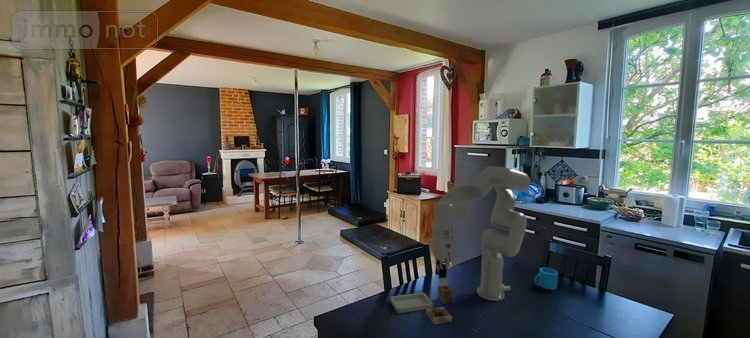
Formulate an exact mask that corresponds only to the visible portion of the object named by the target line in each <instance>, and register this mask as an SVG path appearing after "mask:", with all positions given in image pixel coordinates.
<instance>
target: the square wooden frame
mask: <svg viewBox="0 0 750 338" xmlns="http://www.w3.org/2000/svg"><path fill="white" fill-rule="evenodd" d="M425 314H426V316H427V317H428V318H429V320H430V321H431V322H432V324H433V325H439V324H447V323H452V322H453V316H452V315H451V314H450V313H449V311H447V309H446V308H445V307H444V306H438V307H434V308H430V309H426V310H425ZM436 315H442V316H436Z"/></svg>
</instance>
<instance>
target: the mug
mask: <svg viewBox="0 0 750 338" xmlns="http://www.w3.org/2000/svg"><path fill="white" fill-rule="evenodd" d="M558 275H559V272H558V271H557V270H555V269H554V268H550V267H540V268H539V273H537V274H536V275H535V277H534V283H535V285H536V286H538V287H540V286H541V287H540V288H542V287H543V288H542V289H544V288H545V290H547V289H551V290H550V291H555V290H554V289H556V290H557V287H558ZM537 281H538V282H537Z"/></svg>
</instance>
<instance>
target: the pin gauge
mask: <svg viewBox="0 0 750 338" xmlns="http://www.w3.org/2000/svg"><path fill="white" fill-rule="evenodd" d="M436 267H437V272H438V275H437V279H438V284H439V286H445V285H448V278H447V277H446V278H439V268H440V264H437V265H436V264H435V268H436Z"/></svg>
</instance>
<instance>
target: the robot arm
mask: <svg viewBox="0 0 750 338" xmlns="http://www.w3.org/2000/svg"><path fill="white" fill-rule="evenodd" d="M530 184H531V180H530V177H529V175H528V174H527V173H525V172H522V171H520V170H516V169H513V168H509V167H505V166H496V165H495V166H494V165H493V166H492V165H491V166H487V167H485V168H483V170H481V172H480V173H479V174H478V175H476V176H475V177H474V178H473V179H472V180H471V181H470V182H468V183H464V184H462V185H459V186H456V187H454V188H451V190H449V191H448V192H446V193H445V194H444V195H443V196H442V197H441V198H440V199H439V201H437V202H435V204H434V207H433V208H434V210H433V212H434V213H433V233H432V234H433V238H432V256H433V257H434V259H435V262H434V263H435V268H434V269H435V275H436V276H438V272H437V267H436V265H437V264H440V268H439V278H446V277H447V273H448V271H447V270H448V269H449V268H450V267H451V263H453V262H454V240H453V229H454V228H453V227H454V220H461V221H462V220H463V221H464V220H466V219H469V217H470V216H471V214H472V206H471V205H470V204H469V203H468V202H467V201H469V200H479V199H482V198H484V197H485V196H487V195H488V194H489V193H490V192H491V190H493V188H495V192H496V199H495V203H494V207H493V210H492V211H491V216H490V224H491V225H492V226H493V227H495V228H498V229H501V230H504V231H508V233H506V232H503V231H501V230H497V229H491V228H489V229H485V230H484V231H482V233H481V236H480V243H481V244H480V245H481V251H482V252H481V253H482V254H481V273H480V286H479V287H477V289H476V294H477V295H478V296H479V297H480V298H482V299H484V300H488V301H492V302H493V301H494V302H499V301H503V300H504V299H505V295H506V294H505V291H510V290H511V286H510V285H505V284H504V283H503V274H504V273H503V272H504V271H503V270H504V257H503V255H504V256H506V257H512V258H513V257H515V256H517V255H518V254H519V252H520V249H521V246H522V243H523V240H524V236H525V233H526V230H527V225H528V223H527V222H528V221H527V217H526V216H525V214H524V213H522V212H520V211H515V205H516V196H515V194H514V192H513V191H515V192H525V191H526V190H528V188H529V187H530Z"/></svg>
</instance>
